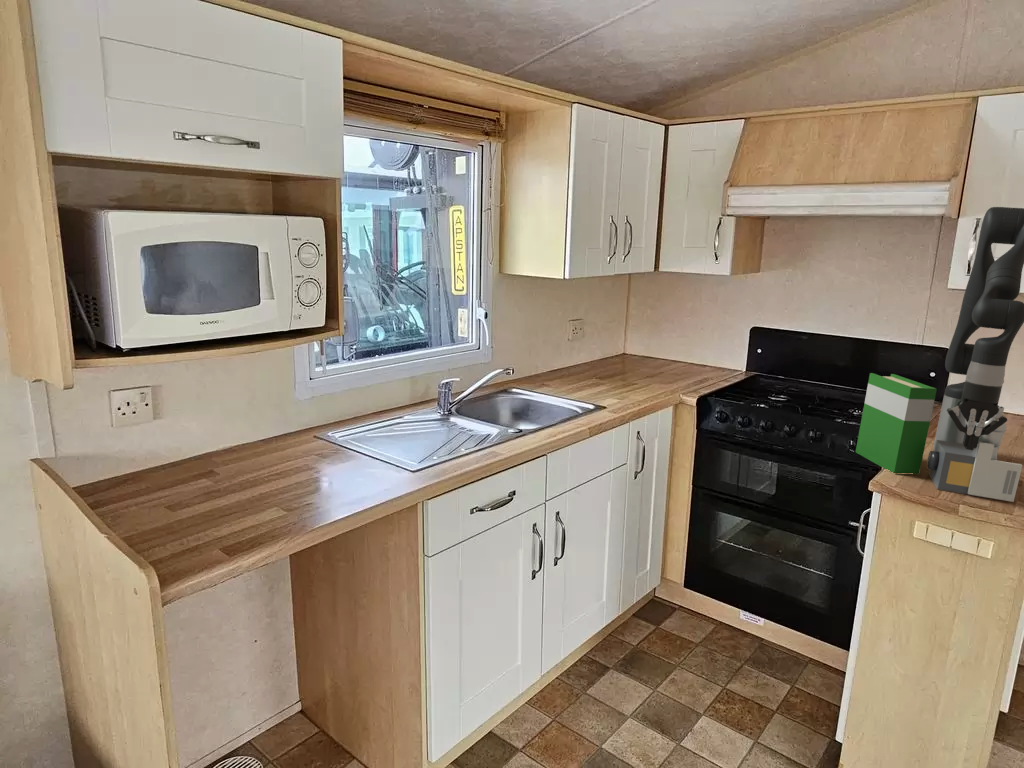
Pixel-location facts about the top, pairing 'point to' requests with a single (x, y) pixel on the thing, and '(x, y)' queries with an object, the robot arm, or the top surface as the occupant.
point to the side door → (993, 475)
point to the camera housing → (951, 466)
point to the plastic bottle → (994, 435)
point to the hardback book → (895, 422)
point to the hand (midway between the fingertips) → (968, 448)
